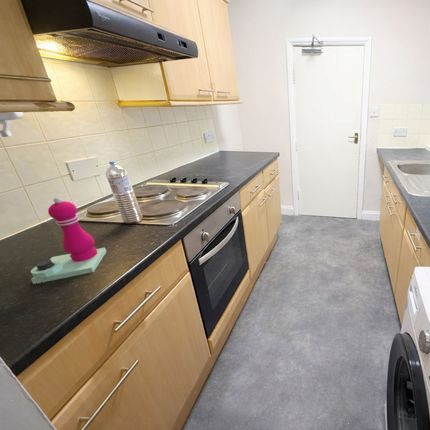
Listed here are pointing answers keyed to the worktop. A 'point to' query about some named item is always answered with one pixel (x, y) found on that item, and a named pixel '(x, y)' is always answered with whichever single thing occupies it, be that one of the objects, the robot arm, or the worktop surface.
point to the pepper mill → (72, 231)
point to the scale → (67, 267)
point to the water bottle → (123, 194)
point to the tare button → (44, 265)
